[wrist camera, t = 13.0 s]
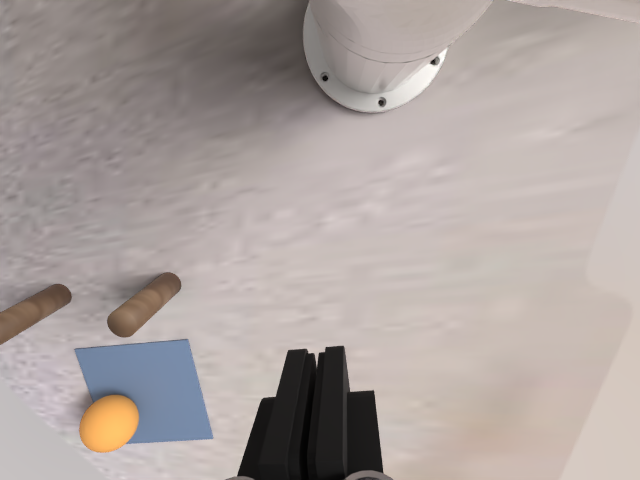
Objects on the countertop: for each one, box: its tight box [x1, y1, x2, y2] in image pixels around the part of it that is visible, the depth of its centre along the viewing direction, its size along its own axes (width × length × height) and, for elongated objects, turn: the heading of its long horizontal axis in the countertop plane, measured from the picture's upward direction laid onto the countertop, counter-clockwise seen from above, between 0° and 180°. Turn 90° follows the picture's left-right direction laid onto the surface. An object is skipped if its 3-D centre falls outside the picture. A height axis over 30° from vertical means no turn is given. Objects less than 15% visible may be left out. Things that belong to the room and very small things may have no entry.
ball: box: [79, 395, 139, 453], centre depth 42 cm, size 6×6×6 cm
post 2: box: [107, 273, 181, 337], centre depth 36 cm, size 3×3×9 cm
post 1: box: [0, 284, 72, 345], centre depth 37 cm, size 3×3×9 cm
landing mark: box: [75, 339, 213, 444], centre depth 45 cm, size 14×14×1 cm
